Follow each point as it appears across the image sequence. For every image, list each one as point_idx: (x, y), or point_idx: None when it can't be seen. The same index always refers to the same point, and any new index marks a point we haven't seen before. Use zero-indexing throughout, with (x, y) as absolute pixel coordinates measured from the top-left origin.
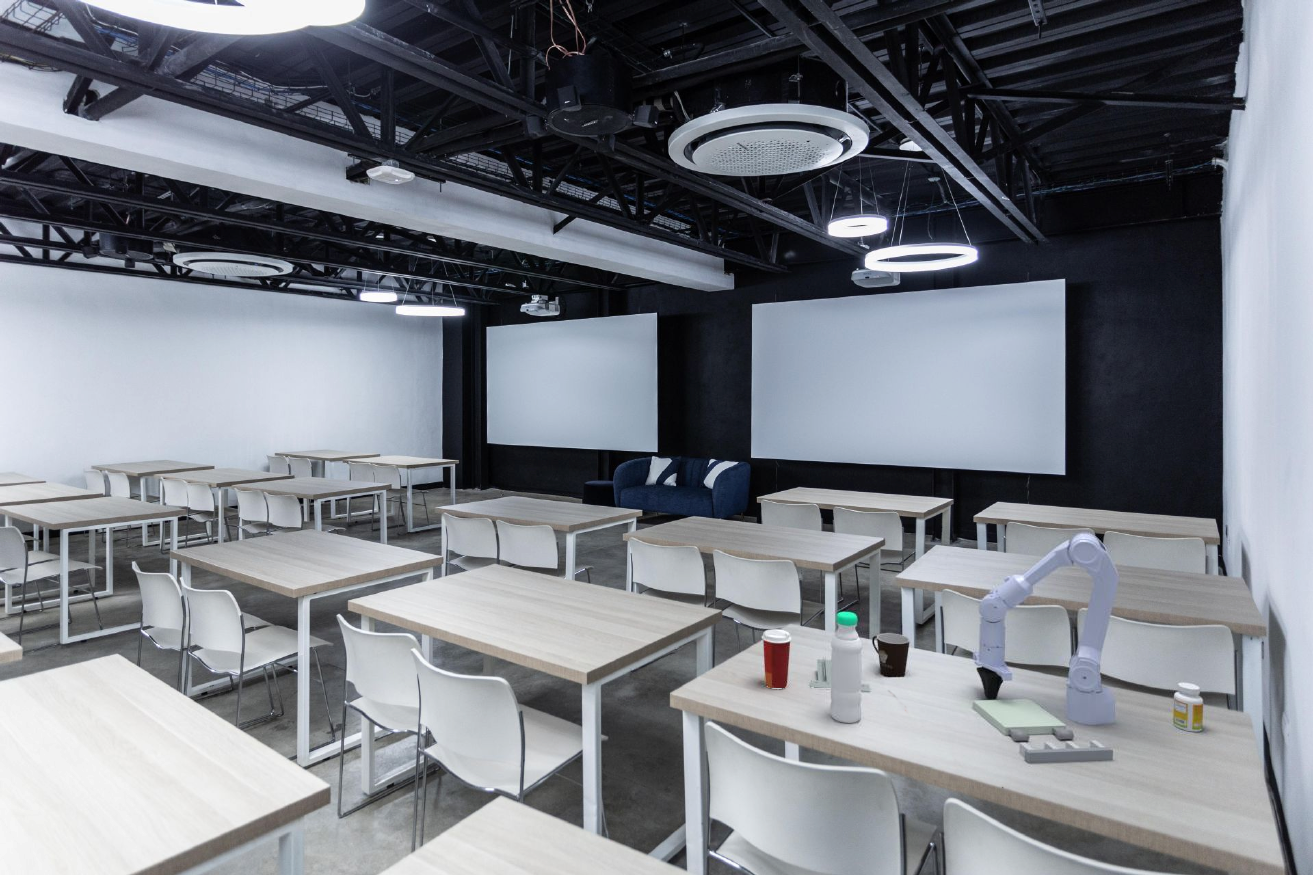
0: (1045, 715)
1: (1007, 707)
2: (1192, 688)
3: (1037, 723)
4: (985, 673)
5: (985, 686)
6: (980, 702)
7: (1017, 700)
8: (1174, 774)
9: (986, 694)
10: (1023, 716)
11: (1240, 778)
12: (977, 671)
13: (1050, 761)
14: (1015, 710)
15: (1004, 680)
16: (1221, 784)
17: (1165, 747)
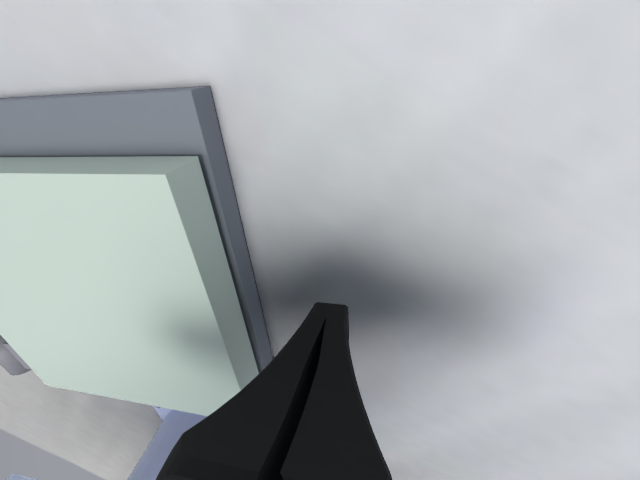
0: (102, 382)
1: (128, 311)
2: None
3: (7, 322)
4: (170, 475)
5: (305, 356)
6: (147, 212)
7: (229, 386)
8: (24, 404)
9: (321, 316)
10: (50, 315)
11: (65, 454)
12: (378, 460)
13: None
14: (106, 322)
15: (11, 476)
16: (28, 428)
17: (137, 456)
